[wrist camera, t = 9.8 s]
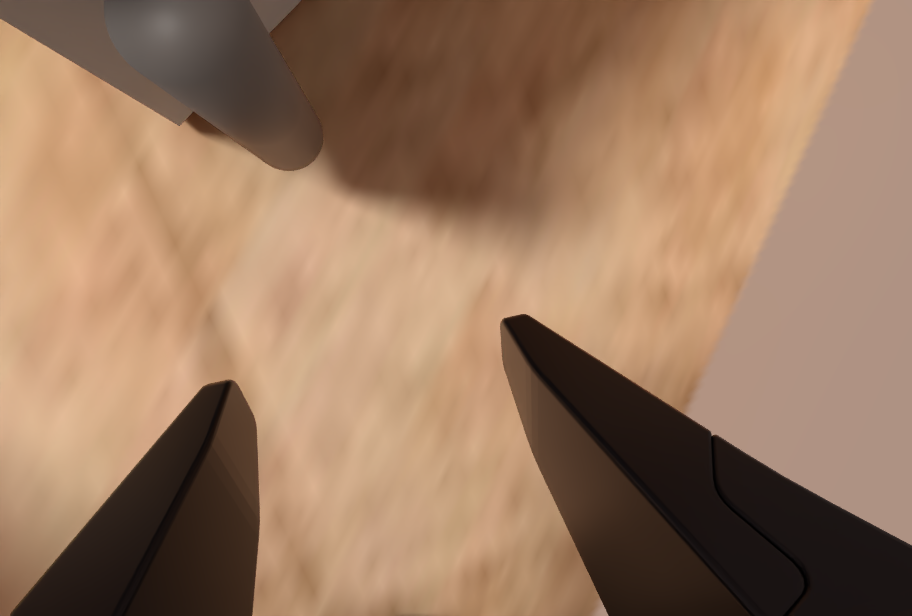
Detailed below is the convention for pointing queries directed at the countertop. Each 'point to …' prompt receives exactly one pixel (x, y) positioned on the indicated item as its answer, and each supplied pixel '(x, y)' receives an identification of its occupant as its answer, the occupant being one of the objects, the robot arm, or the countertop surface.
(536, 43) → the countertop surface
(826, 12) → the countertop surface
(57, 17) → the door
